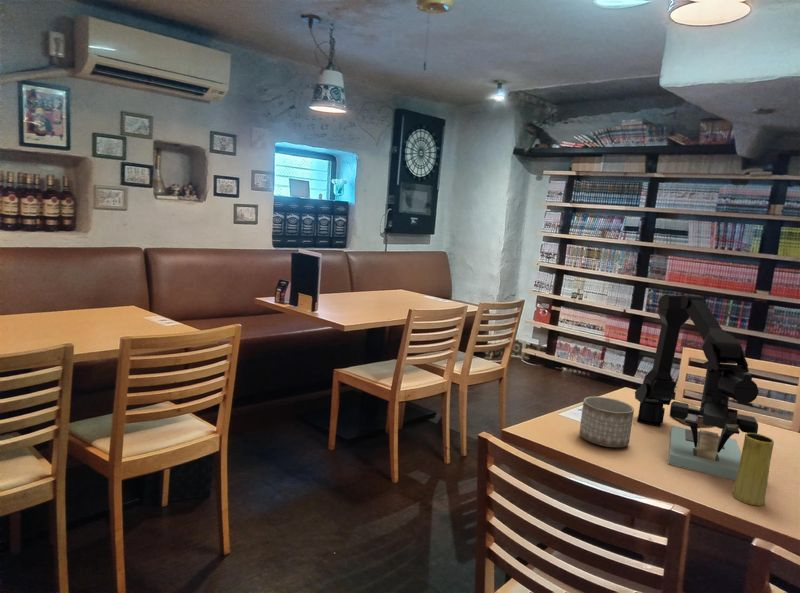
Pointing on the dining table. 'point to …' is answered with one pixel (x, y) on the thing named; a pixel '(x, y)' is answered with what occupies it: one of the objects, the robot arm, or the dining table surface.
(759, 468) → the vase
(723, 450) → the pocket board
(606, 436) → the planter
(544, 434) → the dining table surface
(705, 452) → the maple block
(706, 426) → the bread
